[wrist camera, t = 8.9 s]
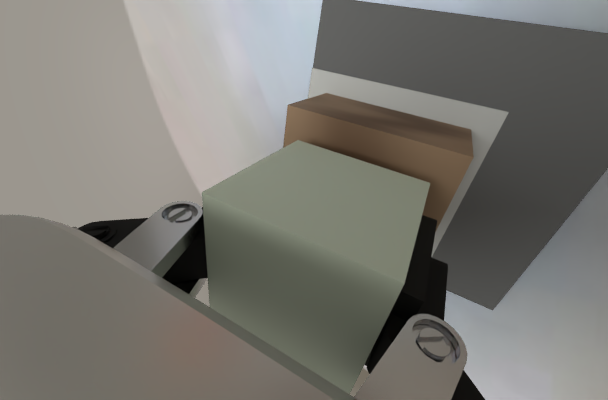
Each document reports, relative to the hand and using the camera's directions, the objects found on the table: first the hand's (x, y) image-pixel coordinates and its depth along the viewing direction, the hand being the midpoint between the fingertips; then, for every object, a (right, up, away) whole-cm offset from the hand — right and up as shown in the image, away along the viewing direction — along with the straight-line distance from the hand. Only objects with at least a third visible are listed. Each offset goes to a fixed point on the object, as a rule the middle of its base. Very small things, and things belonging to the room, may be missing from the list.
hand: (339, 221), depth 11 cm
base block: (+2, +2, +4) cm, 5 cm away
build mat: (+5, +3, +3) cm, 6 cm away
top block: (0, 0, 0) cm, 1 cm away
